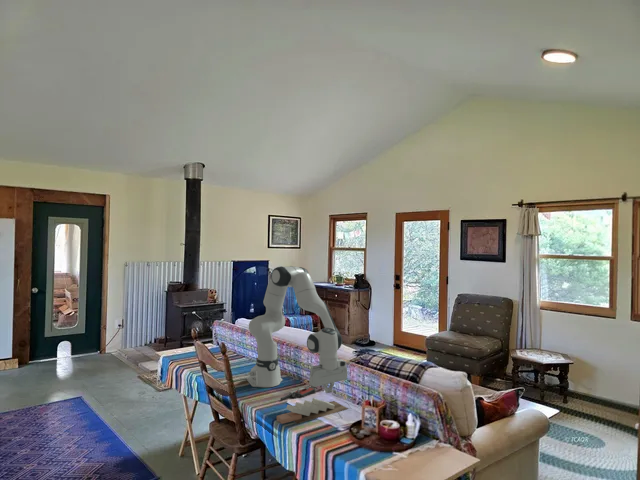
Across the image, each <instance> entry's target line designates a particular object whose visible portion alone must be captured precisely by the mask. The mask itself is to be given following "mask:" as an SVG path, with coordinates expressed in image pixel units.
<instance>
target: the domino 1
mask: <svg viewBox="0 0 640 480" xmlns="http://www.w3.org/2000/svg"><path fill="white" fill-rule="evenodd" d="M301 418H302V414H298V413H293V412H291V411H288V412H285V413H283V414H282V413H281V414H279V415H276V420H277V422H279V423H281V424H287V423H290V422H294V420H298V419H301Z"/></svg>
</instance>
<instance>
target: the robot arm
mask: <svg viewBox="0 0 640 480" xmlns="http://www.w3.org/2000/svg"><path fill="white" fill-rule="evenodd" d="M270 276H271V277H270V278H269V281H268V284H267V287H266V290H265V294H264V298H263V305H264V307H265V313H264V314H262V315H258V316H256V317H254V318H252V319H251V320H250V321H249V323H248V331H249V333H250V334H251V335H252V336H253V337H254V339H255V342H256V346H257V357H256V358H255V360H256V362H255V365H254V366H253V367H252V368H250V371H249V376H247V377H246V379H245V380H247V381H246V382H248V384H250V386H251V387H254V388H257V387H258V388H272V387H277V386H279V385H280V384H281V382H283V378H282V377H281V366H280V365H279V358H278V344H277V342H276V341H275V340H274V339H273V334H274V333H276V332H278V331H280V330H282V329H283V328H284V327H285V324H286V317H285V316H284V315H283V314H284V313H283V307H284V302H285V298H286V295H287V291H288V288H293V291H294V296H295V300H296V303H297V305H298V307H300V308H301V309H303V311H307V312H311V313H314V314H316V315H317V316H318V317H320V320H321V322H322V324H323V325H322V326H323V327H324V328H322V329H320V331H317V332H313V333H310V334H309V335H308V337H307V340H306V346H307V349H308V350H309V351H310V352H311V353H314V354H316V353H317V354H319V356H318V357H319V361H318V362H319V364H318V365H314V366H312V367H310V370H309V381H308V384H309V385H310V387H312V388H316V387H321V386H323V387H324V393H325V394H329V393H332V392H333V388H334V386H335V383H337V382H343V381H345V380H347V378H348V367H347V364H348V363H347V361H346V360H345V359H342V358H339V355H338V350H339V349H340V348H341V346H342V344H343V336H342V335H341V333H340V331H339V330H338V328H337V326H336V323H335V321H334V319H333V316H332V314H331V312H330V309H329V308H328V305H327V303H326V302H325V301H324V300H322V298H321V297H320V296H319V295H318V292H317V288H316V285H315V283H314V280H313V278H312V277H311V274H310V273H309V271H308V269H306V268H305V267H301V266H292V265H290V266H277V267H274V269H273V270H272V271H271V275H270Z"/></svg>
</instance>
